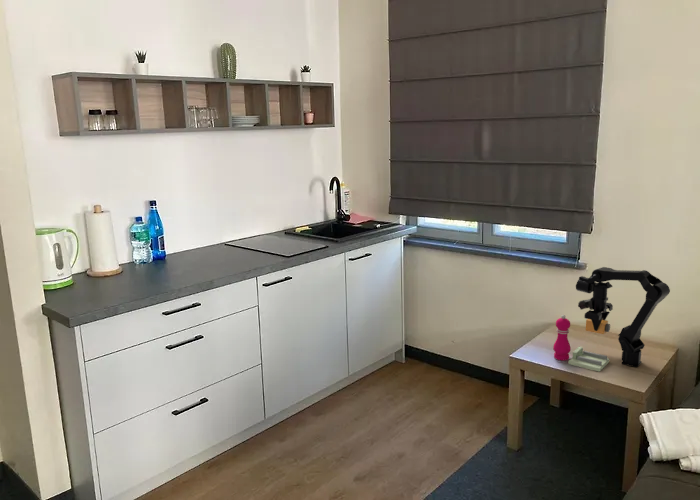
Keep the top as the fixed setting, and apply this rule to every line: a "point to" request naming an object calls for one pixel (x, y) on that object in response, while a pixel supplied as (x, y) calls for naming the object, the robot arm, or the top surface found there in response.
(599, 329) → the orange tapered block
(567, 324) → the pepper mill
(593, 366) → the pale green tray
